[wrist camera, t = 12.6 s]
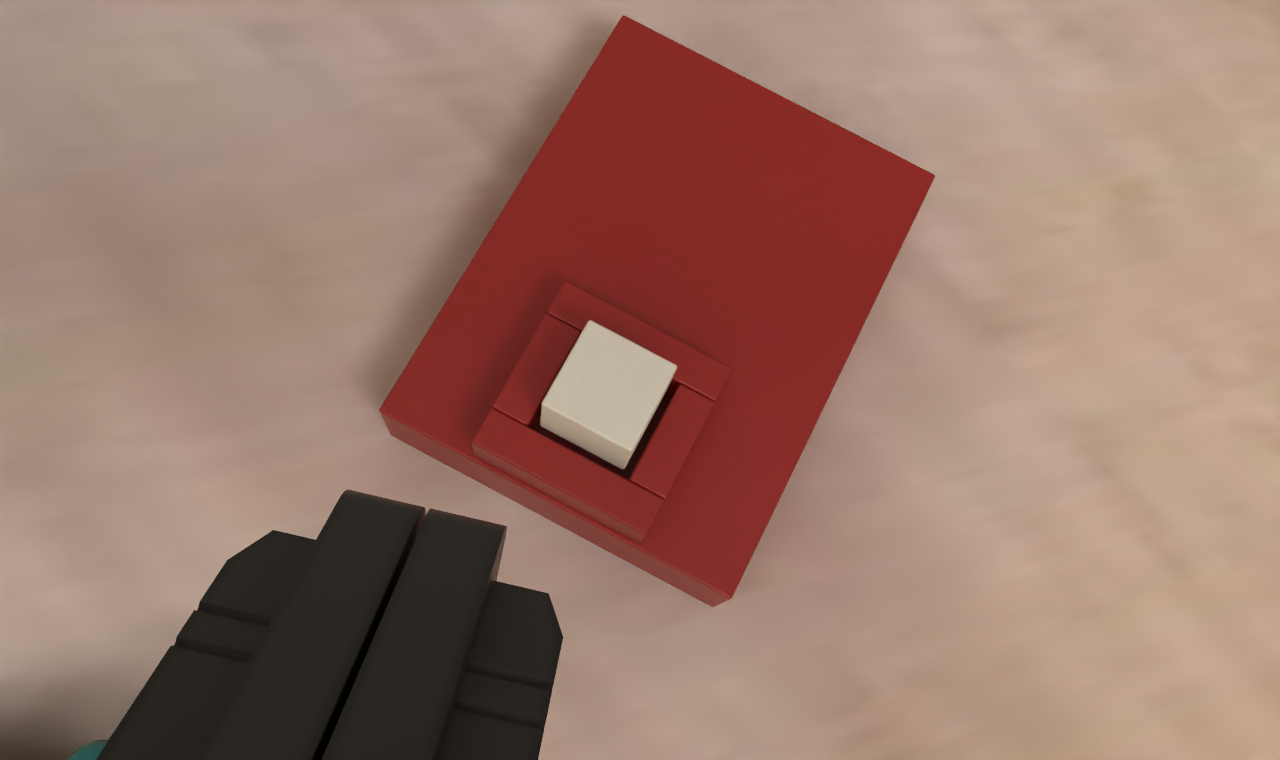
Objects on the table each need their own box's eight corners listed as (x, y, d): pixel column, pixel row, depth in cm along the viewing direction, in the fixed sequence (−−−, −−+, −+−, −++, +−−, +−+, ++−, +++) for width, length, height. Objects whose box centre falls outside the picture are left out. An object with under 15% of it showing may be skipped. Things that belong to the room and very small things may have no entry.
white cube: (539, 425, 33) (540, 403, 30) (584, 345, 34) (589, 318, 31) (623, 470, 33) (632, 452, 30) (666, 389, 34) (678, 365, 31)
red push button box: (389, 434, 37) (370, 394, 32) (615, 64, 42) (628, -19, 37) (713, 607, 37) (742, 593, 32) (905, 213, 41) (955, 149, 36)
